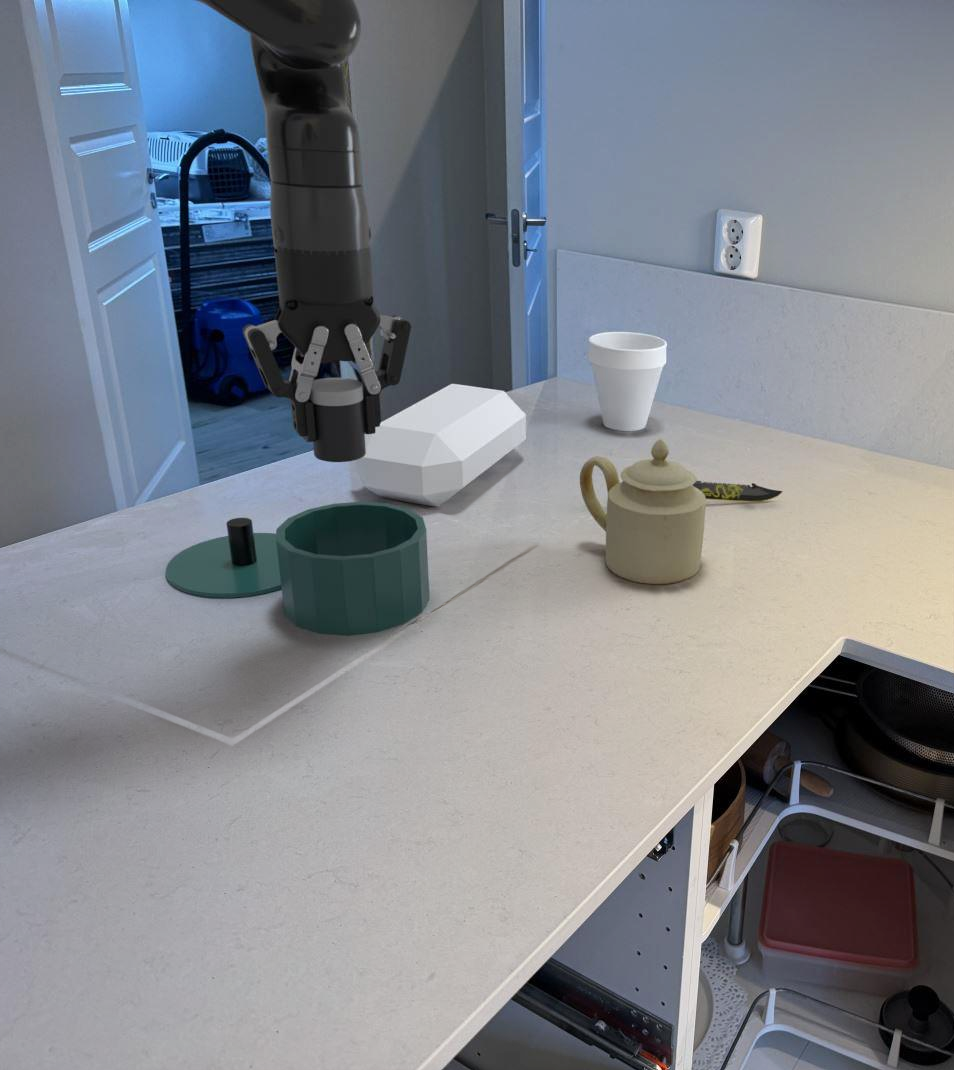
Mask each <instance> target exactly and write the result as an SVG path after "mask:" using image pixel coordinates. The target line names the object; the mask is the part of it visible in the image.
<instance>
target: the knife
mask: <svg viewBox="0 0 954 1070" xmlns="http://www.w3.org/2000/svg"><path fill="white" fill-rule="evenodd" d="M693 486H694V487H696V488H697V489H699V490H700V491H702V493H703V494H704V495H705V498H706V500H709V501H710V500H712V501H728V502H743V503H745V502H747V503H749V502H750V503H754V502H755V503H759V502H766V501H770V500H773V499H775V498H777V497H779V496H780V495H781V494H783V492H784V491H783V490H778V489H770V488H767V487H764V486H761V485H757V484H756V483H751V485H750V484H740V483H737V484H735V483H725V482H724V483H723V482H712V481H711V482H710V481H709V482H708V481H703V482H702V481H701V480H697V481H696V482H695V483H694V484H693Z"/></svg>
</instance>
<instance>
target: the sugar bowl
mask: <svg viewBox="0 0 954 1070" xmlns="http://www.w3.org/2000/svg"><path fill="white" fill-rule="evenodd" d="M669 453H670V449H669V447H668V444H667V442H666V441H664V439H662V438H660V439H657V440H656V441H655V442H654V444H653V445H652V447H651V450H650V454H651V456H652V458H649V459H648V458H647V459H642V460H639V461H636V462H634V463H633V464H632V465H629V466H627V467H625V468H624V469H623V470H621V472H620V479H622V481H621V482H620V479H619V474H618V471H617V468H616V466H615V464H614V463H613V462H612V461H611V460H610V459H609V458H607V457H604V456H599V455H598V456H593V457H591V458H589V459H588V460H587V461H585V462H584V464H583V466H582V467H581V470H580V473H579V487H580V492H581V497H582V500H583V502H584V505H585V506H586V509H587V510H588V512H589V514H590V515H591V517H592V518H593V519H594V521H595V522H596V523H597V524H598V525H599V526H600V527H601V528H602V530H603V531H604V532H605V564H606V566H607V569H609V571H610V572H612V573H613V574H615V575H616V576H617V577H620V578H622V579H624V580H627V581H631V582H634V583H640V584H648V585H649V584H650V585H667V584H674V583H679V582H682V581H685V580H688V579H690V578H692V577H693V576H696V574H697V573H698V572H699V570H700V567H701V562H702V561H701V560H702V554H703V553H702V552H703V543H704V536H705V535H704V534H705V523H706V507H707V499H706V498H705V495H704V494H703V493H702V491H700V490H699V489H697V488H696V487H694V486H693V484H694V483H695V482H696V481H698V480H697V479H698V478H697V476H696V475H695V474H694V473H693V472H692V471H690V470H688V469H687V468H686V467H685V466H684V465H683V464H681V463H678V462H676V461H674V460H670V459H667V458H668V456H669V455H670V454H669ZM594 467H597V468H599V469H600V470H601V472H602V474H603V476H604V480H605V485H606V491H607V500H606V501H607V502H606V511H605V510H604V508H603V506H602V505H601V503H600V501H599V499H598V498H597V495H596V492H595V488H594V481H593V473H594Z"/></svg>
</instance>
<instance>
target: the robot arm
mask: <svg viewBox="0 0 954 1070" xmlns="http://www.w3.org/2000/svg"><path fill="white" fill-rule="evenodd" d="M194 1H195V2H198V3H201V4H203V5H205V6H207V7H208V8H210V9H211V10H213V11H215V12H217V13H218V14H219V15H221V16H223V17H224V18H226V19H228V20H229V21H231V22H232V23H234V24H235V25H237V26H238V27H240V28H241V29H243V30H244V31H246V32H248V34H249V42H250V47H251V54H252V59H253V65H254V69H255V74H256V78H257V82H258V83H257V84H258V87H259V92H260V96H261V100H262V104H263V109H264V116H265V138H266V139H265V140H266V151H267V162H268V170H269V172H268V173H269V180H270V201H269V212H270V214H269V215H270V224H271V233H272V243H273V252H274V253H273V254H274V262H275V269H276V270H275V272H276V273H275V274H276V282H277V291H278V300H279V301H278V302H279V305H278V309H277V312H276V314H275V317H274V320H270V321H267V322H264V323H261V324H258V325H254V324H252V323H250V324H249V323H248V324H246V325H245V326H243V328H242V334H243V337H244V339H245V342H246V344H247V346H248V348H249V351H250V353H251V357H252V358H253V360H254V363H255V365H256V367H257V369H258V372H259V375H260V377H261V379H262V382H263V385H264V386H265V388H266V389H267V390H268V391H270V392H271V394H272V395H273V396H274V397H276V398H278V399H279V398H285V399H289V400H290V408H291V417H292V427H293V429H294V431H295V432H296V433H297V435H298V436H299V437H302V438H303V439H304V440H305V441H306V443H313V442H314V441H316V429H315V418H314V407H313V402H312V401H311V400H310V399H309V397H310V393H311V389H312V385H313V381H314V380H316V378H317V376H318V374H319V369H320V366H321V364H322V365H323V364H329V363H331V362H334V361H339V362H346V363H348V364H349V366H350V368H351V369H352V371H353V373H354V377H355V378H356V380H357V381H359V382H361V383H362V385H363V400H362V402H363V417H364V432H365V434H374V433H375V432H376V429H375V427H379V426H380V423H381V422H382V414H381V413H382V411H381V399H380V398H381V397H380V395H381V392H382V391H383V390H384V389H386V388H387V387H390V386H397V385H398V384H400V381H401V377H402V374H403V373H402V372H403V369H404V363H405V358H406V353H407V349H408V344H409V340H410V335H411V330H412V325H411V323H410V321H408V320H406V319H404V318H403V317H401V316H399V315H398V314H393V315H390V316H389V315H385V314H380V312H379V310H378V308H377V307H376V305H375V302H374V284H373V282H374V281H373V269H372V268H373V267H372V252H371V239H372V231H371V228H370V223H369V221H370V220H369V211H368V206H367V200H366V196H365V190H364V180H363V179H364V178H363V166H362V165H363V163H362V150H361V140H360V132H359V127H358V124H357V121H356V118H355V116H354V115H353V113H352V112H351V109H350V107H349V105H348V101H347V90H346V81H345V73H344V72H345V71H344V64H343V63H344V62H345V61H346V60H347V59H349V58H350V57H351V56H352V54H353V53H354V52H355V51H356V49H357V46H358V44H359V42H360V38H361V33H362V21H361V20H362V19H361V15H360V11H359V8H358V4H357V3H356V0H194ZM378 328H379V330H380V331H379V334H380V336H381V338H383V345H382V349H381V353H380V359H379V363H378V368H377V370H376V371H375V369H374V364H373V362H372V359H371V356H370V354H369V352H368V349H367V345H368V344H369V342H370V340H371V339H372V337H373V335H374V334H375V332H376V331H377V329H378ZM280 334H282V335H283V336H284V337H285V338H286V339H287V340H288V342H290V344H291V345H292V346H293V347H294V350H293V355H292V358H291V362H290V363H291V364H290V365H291V366H290V367H291V370H290V374H289V378H288V380H286V379H284V378H283V375H282V373H281V371H280V370H281V369H280V368H279V366H278V363H277V360H276V358H275V356H274V353H273V351H274V350H276V348H277V346H278V341H277V339H278V336H279V335H280Z"/></svg>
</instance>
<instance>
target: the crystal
mask: <svg viewBox="0 0 954 1070" xmlns="http://www.w3.org/2000/svg"><path fill="white" fill-rule="evenodd" d="M375 429H376V432H375V433H374V434H366V433H365V447H366V454H365V456H364V457H362V458H360V459H357V460H354V461H355V463H354V464H355V471H356V472H355V473H356V474H357V476H358V478H359V480H360V482H361V483H362V485H363V487H365V488H366V489H368V490H369V491H370V492H372V493H374V494H375V495H377V496H378V497H379V498H383V499H385V500H386V499H387V500H393V501H398V502H405V503H411V504H412V503H413V504H418V505H424V506H429V507H436V508H439V507H441V505H443V504H444V503H445V502H447V501H449V500H450V499H451V498H452V497H453V496H455V495H456V494H457V493H458V492H460V491H461V490H462V489H464V488H465V487H466V486H468V485H469V484H470V483H472V482H473V481H474V480H475V479H477V478H478V477H479V476H480V475H482V474H483V473H485V472H486V471H487V470H489V468H491V467H492V466H494V465H495V464H496V463H497V462H499V461H500V460H501V459H502V458H504V457H505V456H507V454H509V453H510V452H511V451H513V450H514V449H515V448H517V447H518V446H519V445H520V444H522V443H523V442H525V441H526V439H527V415H526V413H525V412H524V411H523V410H522V409H521V408H520V407H519V406H518V405H517V403H516V402H514V400H513V399H512V398H511V397H510V396H509V395H508V393H506V391H505V390H500V389H493V388H488V387H487V388H484V387H479V386H472V385H465V384H457V383H450V384H448V385H447V386H445V387H443V388H441V389H439V390H438V391H436V392H434V393H432V394H430V395H429V396H426V397H425V398H423V399H421V400H419V401H418V402H415V403H414V404H412V405H410V406H409V407H406V408H404V409H403V410H401V411H399V412H398V413H395V414H394V415H392V416H390V417H388V418H387V419H385V420H382V421H381V423H380V426H379V427H375Z"/></svg>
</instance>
